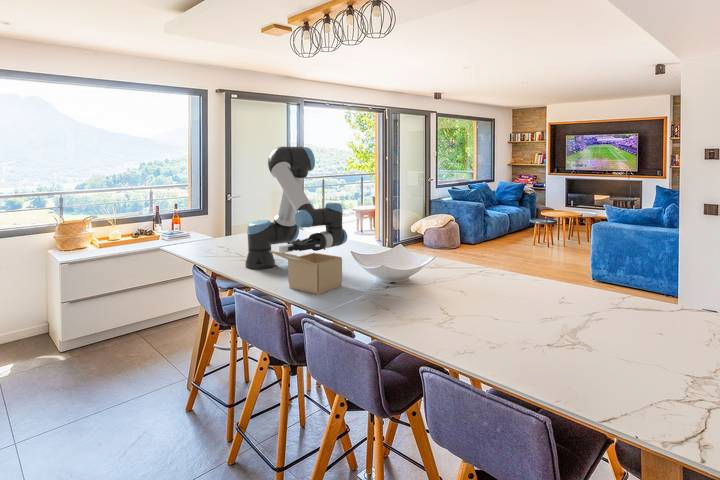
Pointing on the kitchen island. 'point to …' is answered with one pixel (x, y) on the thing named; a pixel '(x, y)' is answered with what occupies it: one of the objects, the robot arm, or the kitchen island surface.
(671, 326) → the kitchen island surface
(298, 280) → the carton
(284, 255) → the front flap
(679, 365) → the kitchen island surface
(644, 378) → the kitchen island surface
